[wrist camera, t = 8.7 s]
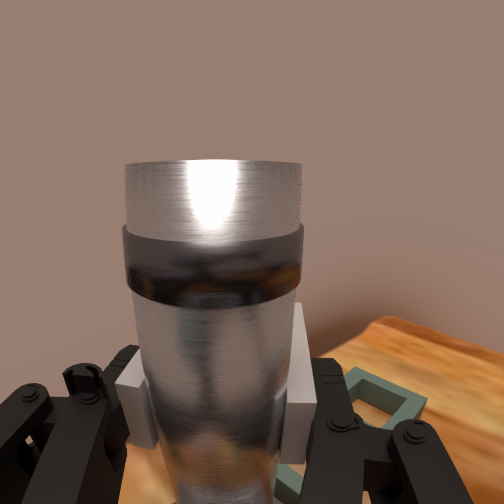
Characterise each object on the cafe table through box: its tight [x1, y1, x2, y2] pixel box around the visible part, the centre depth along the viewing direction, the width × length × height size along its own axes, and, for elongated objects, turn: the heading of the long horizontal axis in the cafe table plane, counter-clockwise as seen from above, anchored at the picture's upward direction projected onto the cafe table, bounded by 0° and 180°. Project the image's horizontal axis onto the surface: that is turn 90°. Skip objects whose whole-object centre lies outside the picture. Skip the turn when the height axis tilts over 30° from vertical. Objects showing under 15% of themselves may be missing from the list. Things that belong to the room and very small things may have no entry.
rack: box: [274, 367, 428, 504], centre depth 26 cm, size 10×18×3 cm, turn 131°
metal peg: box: [122, 160, 304, 504], centre depth 9 cm, size 4×4×16 cm
